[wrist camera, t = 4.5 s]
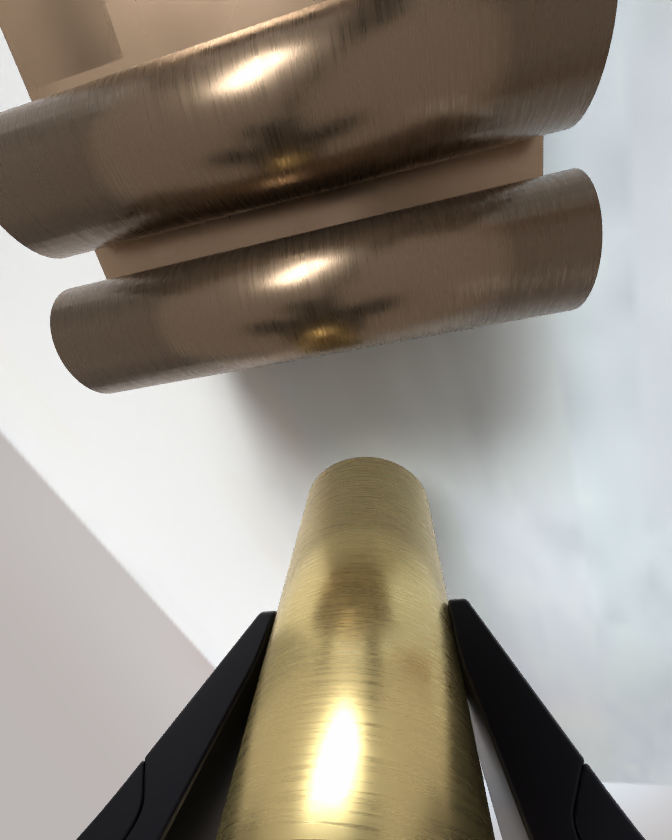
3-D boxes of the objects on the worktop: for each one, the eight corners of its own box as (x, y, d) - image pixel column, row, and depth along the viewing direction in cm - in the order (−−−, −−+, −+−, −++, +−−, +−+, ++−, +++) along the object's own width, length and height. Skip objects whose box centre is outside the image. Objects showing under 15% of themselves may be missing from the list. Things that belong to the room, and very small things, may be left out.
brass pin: (421, 448, 12) (577, 1178, 3) (434, 549, 13) (561, 1223, 4) (294, 465, 12) (64, 1088, 3) (321, 559, 14) (218, 1156, 5)
